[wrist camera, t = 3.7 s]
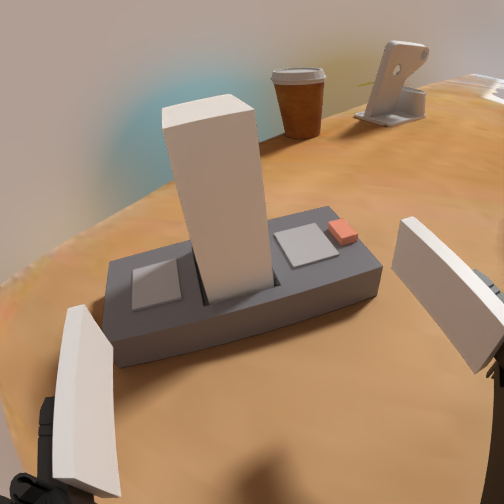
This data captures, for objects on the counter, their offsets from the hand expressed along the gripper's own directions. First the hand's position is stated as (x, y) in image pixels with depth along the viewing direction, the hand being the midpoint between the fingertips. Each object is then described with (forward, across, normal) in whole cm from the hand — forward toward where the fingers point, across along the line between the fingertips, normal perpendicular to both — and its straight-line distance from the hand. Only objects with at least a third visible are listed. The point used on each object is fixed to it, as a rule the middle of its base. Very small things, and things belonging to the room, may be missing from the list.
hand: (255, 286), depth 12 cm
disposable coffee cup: (+43, +20, -10) cm, 49 cm away
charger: (+9, 0, -8) cm, 12 cm away
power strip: (+9, 0, -10) cm, 13 cm away
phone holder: (+48, +45, -10) cm, 66 cm away
